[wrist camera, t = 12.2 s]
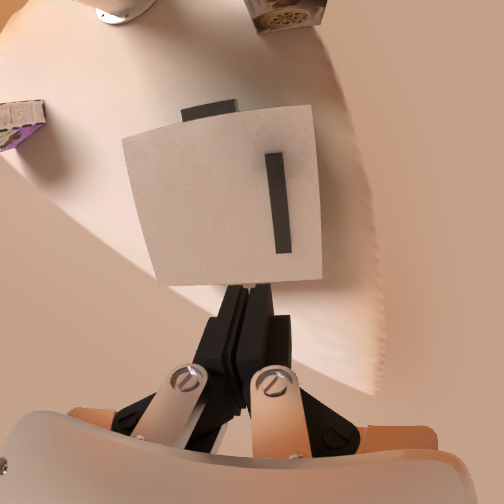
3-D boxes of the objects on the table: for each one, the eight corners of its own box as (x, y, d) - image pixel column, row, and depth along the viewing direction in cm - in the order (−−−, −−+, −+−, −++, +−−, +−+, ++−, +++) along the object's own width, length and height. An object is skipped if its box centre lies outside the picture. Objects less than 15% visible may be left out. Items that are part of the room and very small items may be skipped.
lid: (127, 138, 27) (113, 140, 24) (310, 105, 23) (312, 103, 21) (162, 281, 34) (154, 293, 32) (321, 273, 31) (323, 286, 29)
